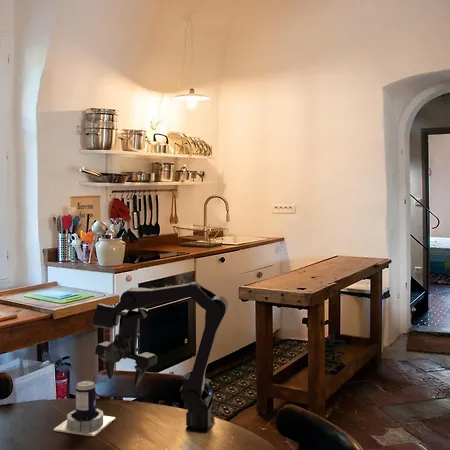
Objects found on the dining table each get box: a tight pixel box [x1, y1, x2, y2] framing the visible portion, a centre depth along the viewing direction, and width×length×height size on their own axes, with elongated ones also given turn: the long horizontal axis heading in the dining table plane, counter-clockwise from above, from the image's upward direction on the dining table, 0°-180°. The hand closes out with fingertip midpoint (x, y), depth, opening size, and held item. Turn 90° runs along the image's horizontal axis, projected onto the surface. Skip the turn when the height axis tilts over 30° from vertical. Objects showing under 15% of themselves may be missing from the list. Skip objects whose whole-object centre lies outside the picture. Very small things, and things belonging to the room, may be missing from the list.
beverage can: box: [75, 380, 97, 420], centre depth 173 cm, size 6×6×12 cm
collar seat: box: [53, 408, 116, 437], centre depth 173 cm, size 13×13×3 cm
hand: (122, 382), depth 173 cm, fingers open, 9 cm apart
